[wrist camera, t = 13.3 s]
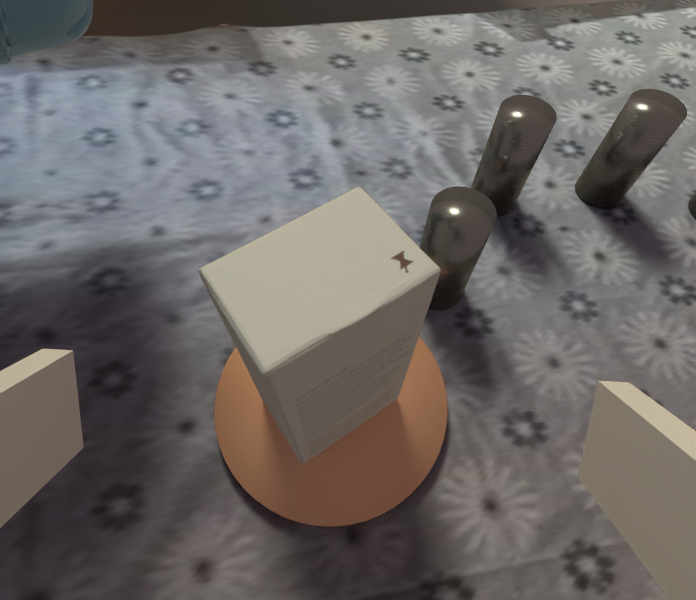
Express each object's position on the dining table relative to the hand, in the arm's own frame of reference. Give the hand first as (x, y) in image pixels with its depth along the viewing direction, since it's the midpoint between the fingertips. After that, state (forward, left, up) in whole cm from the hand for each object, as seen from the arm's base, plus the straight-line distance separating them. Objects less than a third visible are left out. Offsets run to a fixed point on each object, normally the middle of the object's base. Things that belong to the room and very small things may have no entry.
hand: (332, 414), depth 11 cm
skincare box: (-4, +2, -12) cm, 12 cm away
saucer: (-4, +2, -12) cm, 13 cm away
